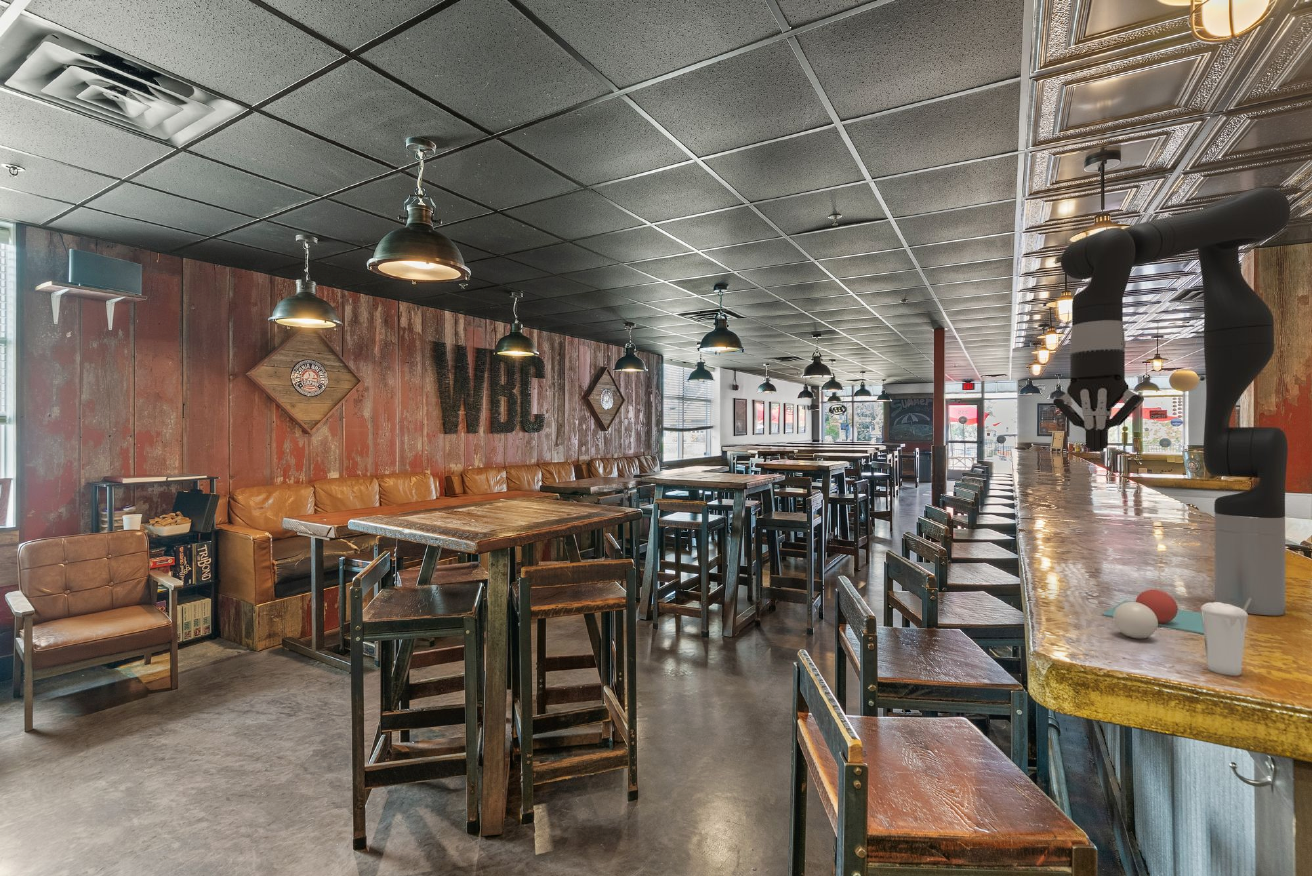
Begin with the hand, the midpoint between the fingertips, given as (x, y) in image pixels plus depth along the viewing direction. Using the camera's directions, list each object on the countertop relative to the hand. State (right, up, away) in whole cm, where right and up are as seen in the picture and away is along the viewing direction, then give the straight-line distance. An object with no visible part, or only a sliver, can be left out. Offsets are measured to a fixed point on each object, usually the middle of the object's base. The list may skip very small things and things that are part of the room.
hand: (1096, 451), depth 103 cm
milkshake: (+1, -29, -22) cm, 37 cm away
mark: (+13, -29, +2) cm, 32 cm away
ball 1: (0, -26, -9) cm, 28 cm away
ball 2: (+9, -26, -1) cm, 28 cm away
